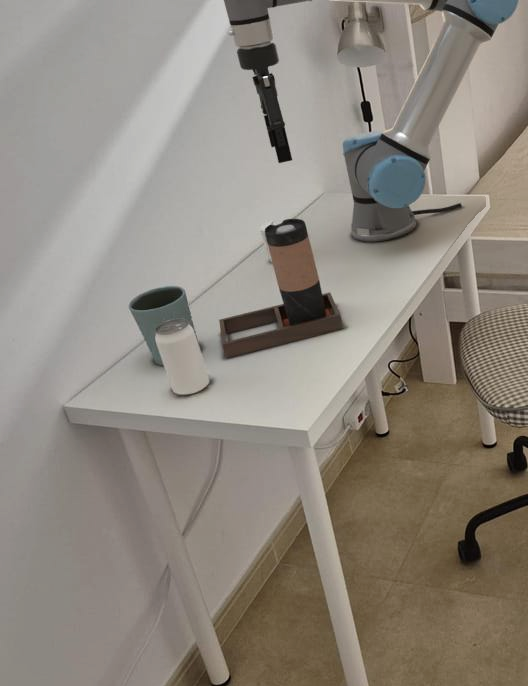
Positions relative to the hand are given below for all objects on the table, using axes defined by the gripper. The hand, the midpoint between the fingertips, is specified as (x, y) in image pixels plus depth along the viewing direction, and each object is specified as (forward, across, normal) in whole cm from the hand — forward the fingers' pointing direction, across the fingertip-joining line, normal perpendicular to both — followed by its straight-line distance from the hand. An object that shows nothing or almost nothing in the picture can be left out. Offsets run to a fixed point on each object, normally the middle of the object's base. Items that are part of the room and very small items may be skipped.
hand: (281, 153), depth 177 cm
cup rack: (+27, +26, -9) cm, 38 cm away
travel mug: (+27, +26, -4) cm, 37 cm away
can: (+27, +39, -27) cm, 54 cm away
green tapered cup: (+27, +24, -29) cm, 47 cm away
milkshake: (+27, -12, -6) cm, 30 cm away
